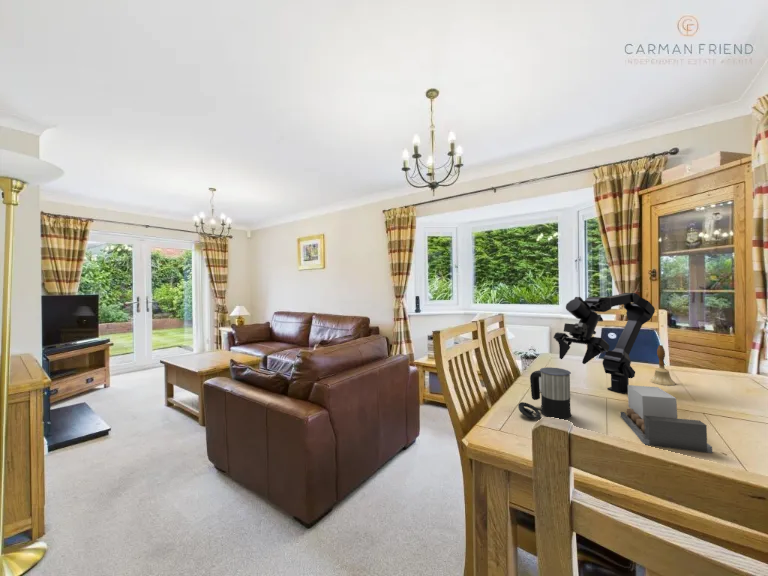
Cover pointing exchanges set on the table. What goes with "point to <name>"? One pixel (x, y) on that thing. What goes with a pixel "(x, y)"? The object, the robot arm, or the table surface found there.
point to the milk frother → (549, 394)
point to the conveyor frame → (672, 433)
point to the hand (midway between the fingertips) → (571, 361)
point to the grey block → (651, 402)
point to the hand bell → (662, 370)
